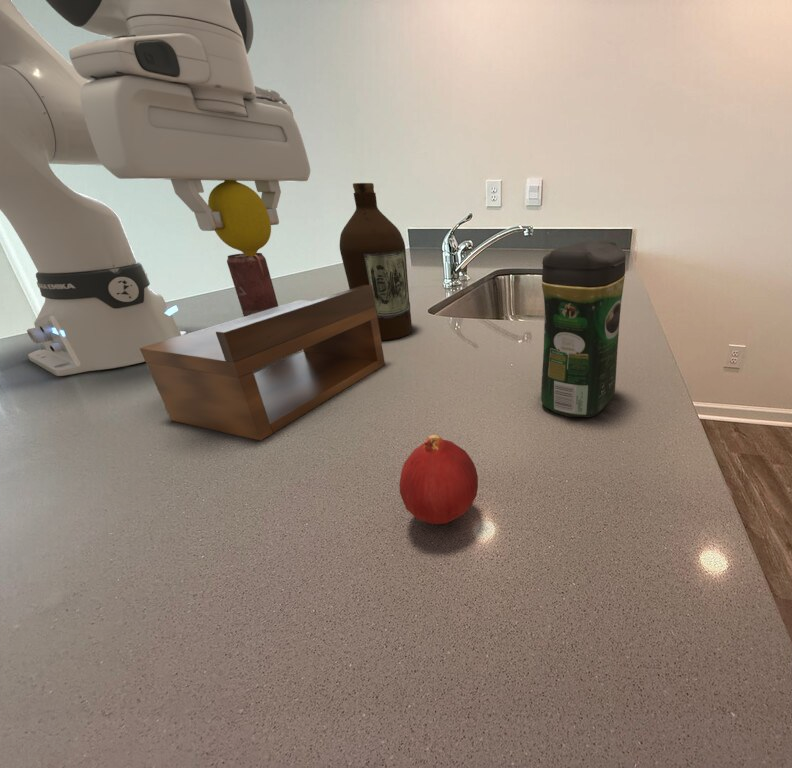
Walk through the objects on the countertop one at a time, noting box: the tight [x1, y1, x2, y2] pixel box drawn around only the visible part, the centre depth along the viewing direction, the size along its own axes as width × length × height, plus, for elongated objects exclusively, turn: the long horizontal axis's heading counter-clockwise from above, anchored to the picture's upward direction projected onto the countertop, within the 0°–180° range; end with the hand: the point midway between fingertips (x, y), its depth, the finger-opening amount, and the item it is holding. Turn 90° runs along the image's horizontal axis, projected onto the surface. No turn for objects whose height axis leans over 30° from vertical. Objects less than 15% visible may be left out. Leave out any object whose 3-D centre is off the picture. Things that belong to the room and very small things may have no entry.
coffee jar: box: [540, 239, 627, 418], centre depth 46 cm, size 10×8×19 cm
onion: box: [398, 434, 479, 525], centre depth 30 cm, size 6×6×8 cm
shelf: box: [140, 285, 386, 442], centre depth 52 cm, size 14×22×12 cm, turn 160°
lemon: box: [207, 180, 272, 257], centre depth 44 cm, size 6×6×8 cm
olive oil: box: [339, 182, 413, 342], centre depth 70 cm, size 11×11×25 cm
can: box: [226, 252, 279, 317], centre depth 77 cm, size 6×6×14 cm
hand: (242, 227), depth 45 cm, fingers closed on lemon, 5 cm apart
